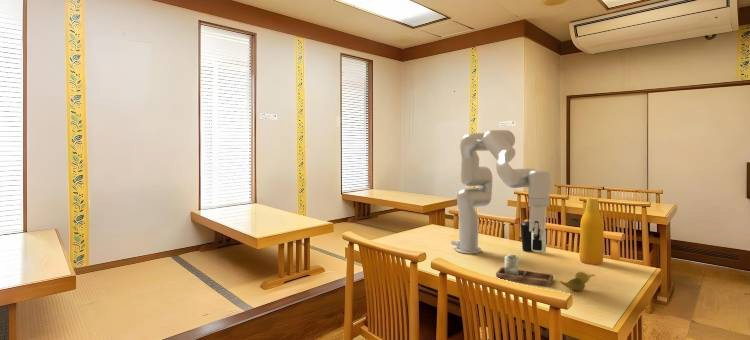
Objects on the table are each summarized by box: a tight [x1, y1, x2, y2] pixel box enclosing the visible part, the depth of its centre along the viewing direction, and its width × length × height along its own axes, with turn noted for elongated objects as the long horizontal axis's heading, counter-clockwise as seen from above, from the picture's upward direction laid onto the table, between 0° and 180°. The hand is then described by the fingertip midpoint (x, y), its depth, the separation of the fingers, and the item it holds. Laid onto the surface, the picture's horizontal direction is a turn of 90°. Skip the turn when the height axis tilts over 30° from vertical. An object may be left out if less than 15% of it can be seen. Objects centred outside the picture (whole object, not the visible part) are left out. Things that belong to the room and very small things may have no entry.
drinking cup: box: [519, 210, 533, 253], centre depth 194 cm, size 8×8×20 cm
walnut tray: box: [495, 253, 554, 288], centre depth 154 cm, size 20×9×9 cm, turn 59°
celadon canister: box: [531, 229, 547, 253], centre depth 151 cm, size 5×5×9 cm
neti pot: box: [559, 271, 596, 291], centre depth 142 cm, size 4×15×6 cm, turn 104°
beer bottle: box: [579, 197, 605, 266], centre depth 174 cm, size 9×9×29 cm
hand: (538, 247), depth 151 cm, fingers closed on celadon canister, 5 cm apart
